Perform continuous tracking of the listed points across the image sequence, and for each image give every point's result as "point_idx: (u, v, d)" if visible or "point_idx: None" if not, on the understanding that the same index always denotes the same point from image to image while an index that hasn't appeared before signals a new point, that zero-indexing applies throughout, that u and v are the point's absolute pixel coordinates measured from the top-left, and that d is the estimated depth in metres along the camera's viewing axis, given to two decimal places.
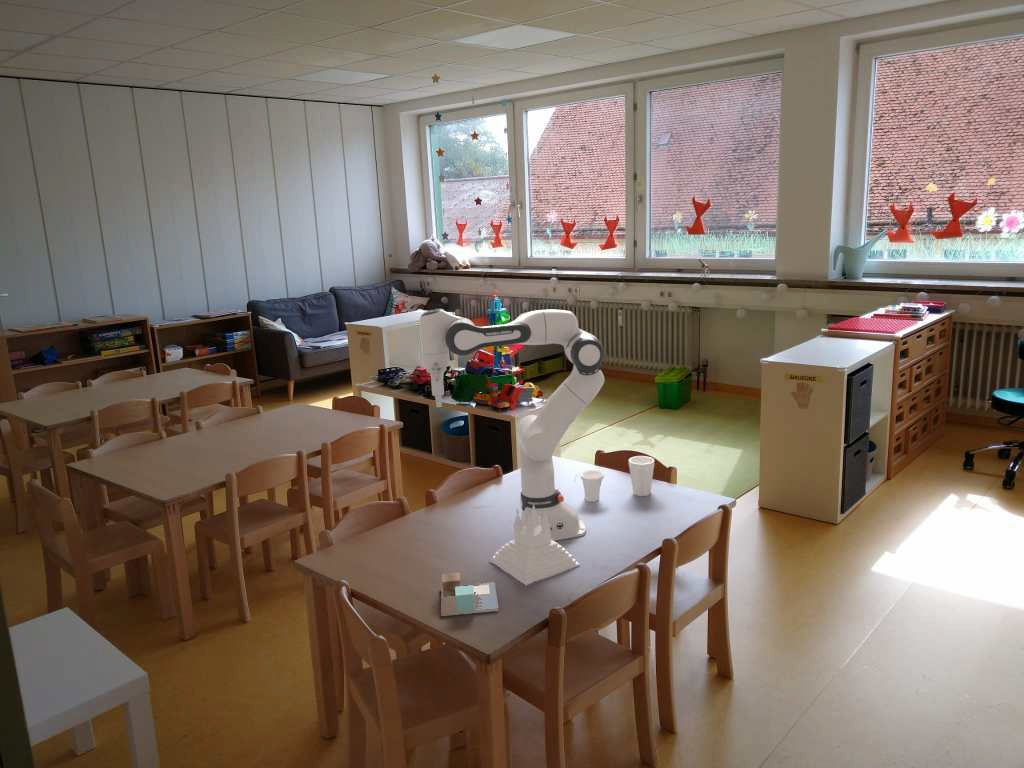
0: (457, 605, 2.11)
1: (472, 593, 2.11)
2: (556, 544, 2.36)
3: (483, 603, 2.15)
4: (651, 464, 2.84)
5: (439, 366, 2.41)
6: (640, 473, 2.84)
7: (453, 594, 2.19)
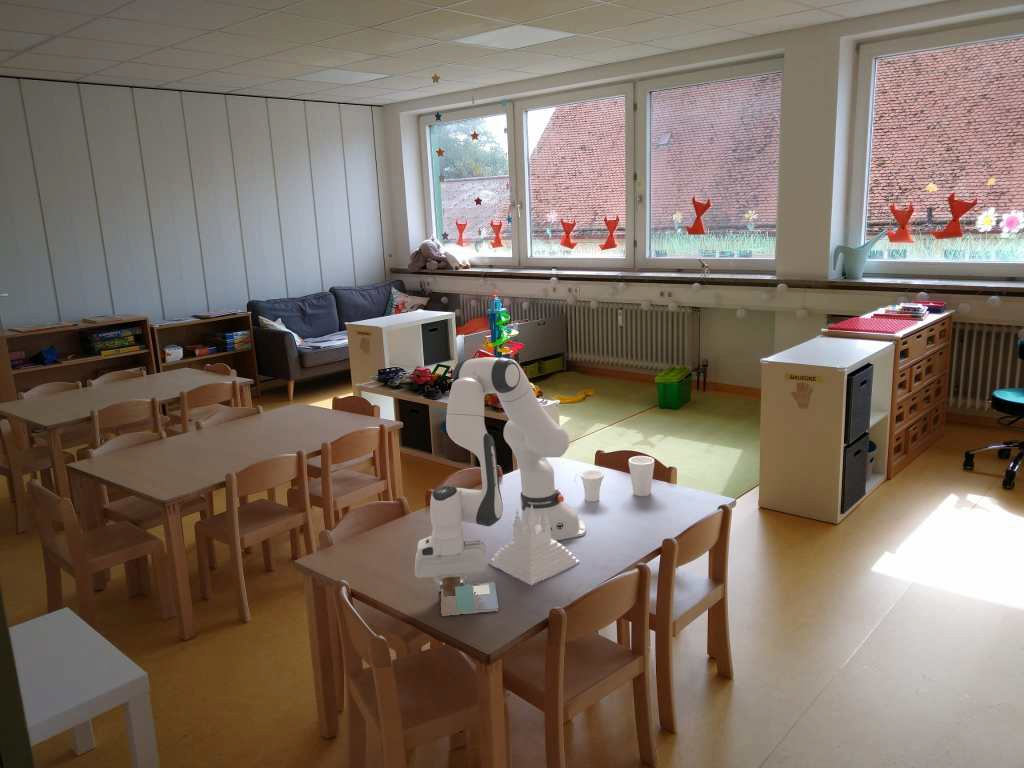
0: (457, 605, 2.11)
1: (472, 593, 2.11)
2: (556, 543, 2.37)
3: (483, 603, 2.15)
4: (651, 464, 2.84)
5: None
6: (640, 473, 2.84)
7: (453, 594, 2.19)
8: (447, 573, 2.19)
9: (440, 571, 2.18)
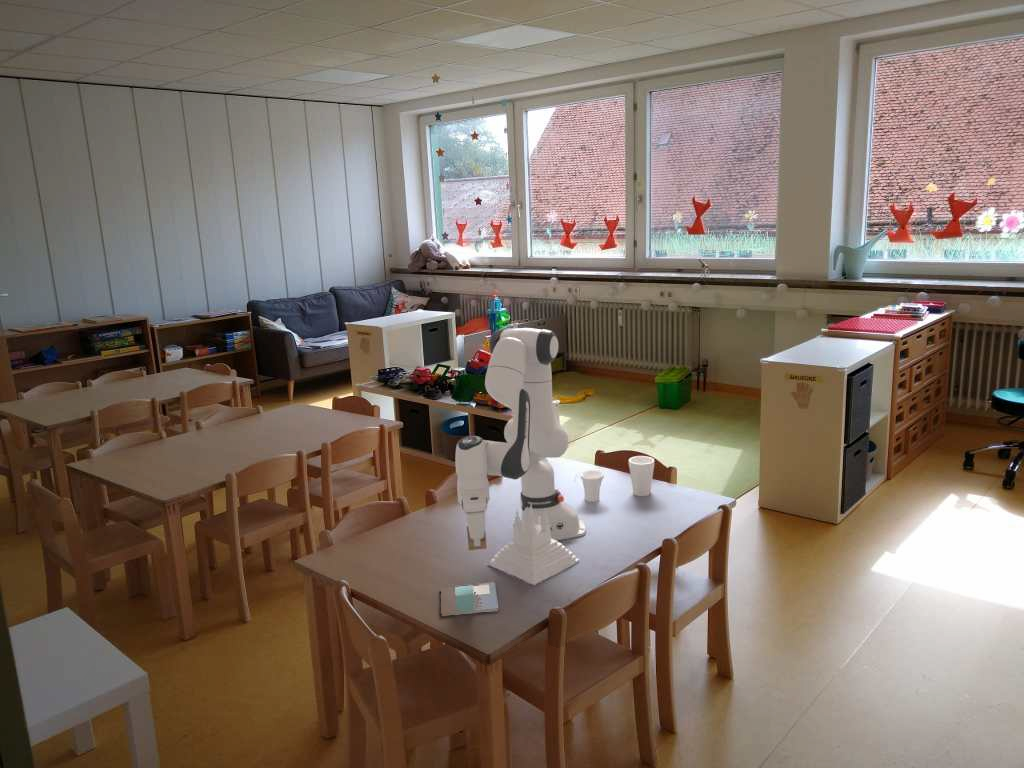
0: (457, 605, 2.11)
1: (472, 593, 2.11)
2: (556, 542, 2.37)
3: (483, 603, 2.15)
4: (651, 464, 2.84)
5: None
6: (640, 473, 2.84)
7: None
8: None
9: None
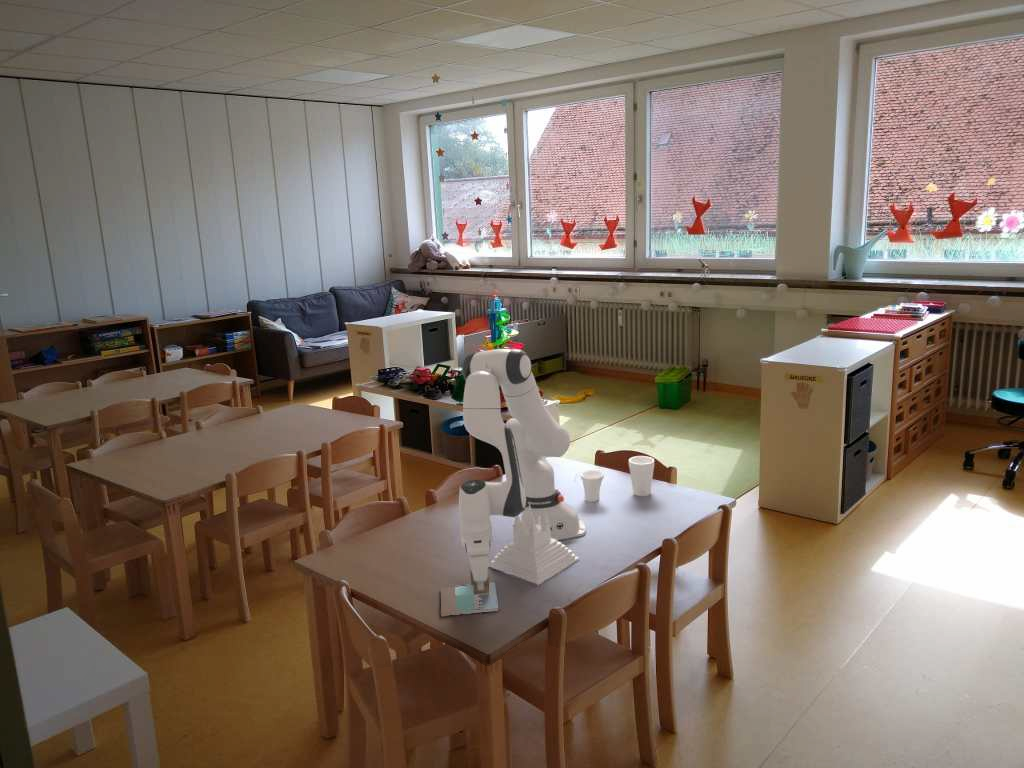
0: (457, 605, 2.11)
1: (472, 593, 2.11)
2: (556, 541, 2.38)
3: (483, 603, 2.15)
4: (651, 464, 2.84)
5: None
6: (640, 473, 2.84)
7: None
8: None
9: None
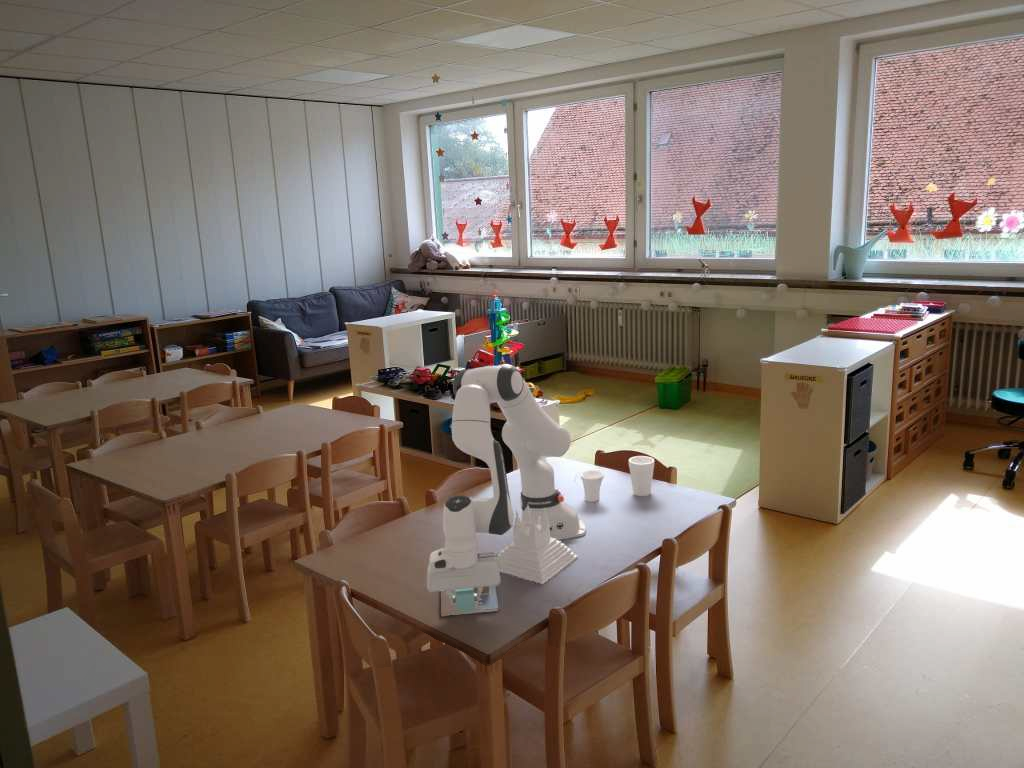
0: (457, 605, 2.11)
1: (472, 593, 2.11)
2: (555, 540, 2.39)
3: (483, 603, 2.15)
4: (651, 464, 2.84)
5: None
6: (640, 473, 2.84)
7: None
8: (460, 587, 2.11)
9: (453, 584, 2.10)
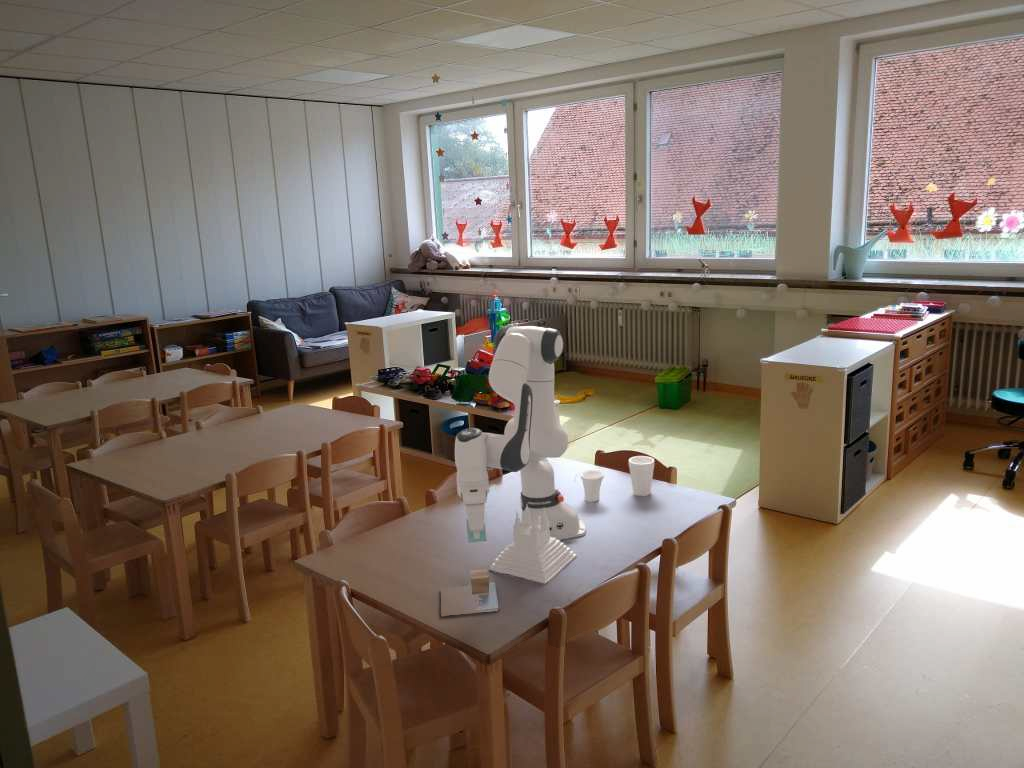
0: (485, 533, 2.17)
1: None
2: (555, 539, 2.39)
3: (483, 603, 2.15)
4: (651, 464, 2.84)
5: None
6: (640, 473, 2.84)
7: None
8: None
9: None
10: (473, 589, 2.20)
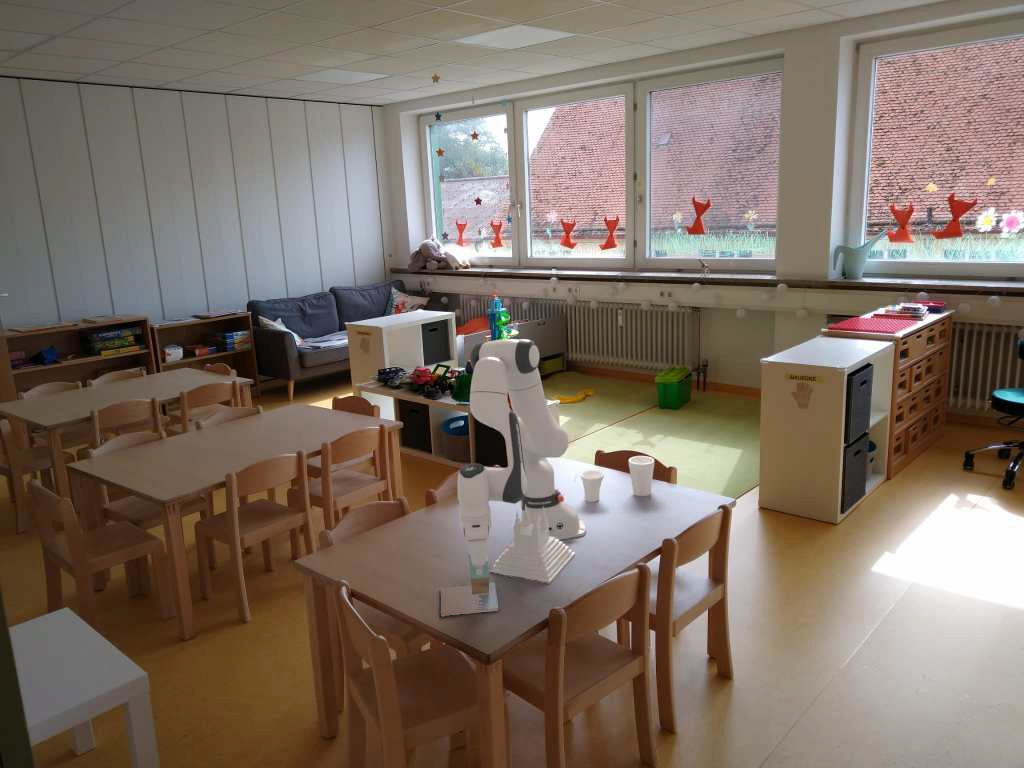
0: None
1: None
2: (554, 538, 2.40)
3: (483, 603, 2.15)
4: (651, 464, 2.84)
5: None
6: (640, 473, 2.84)
7: None
8: None
9: None
10: (473, 589, 2.20)
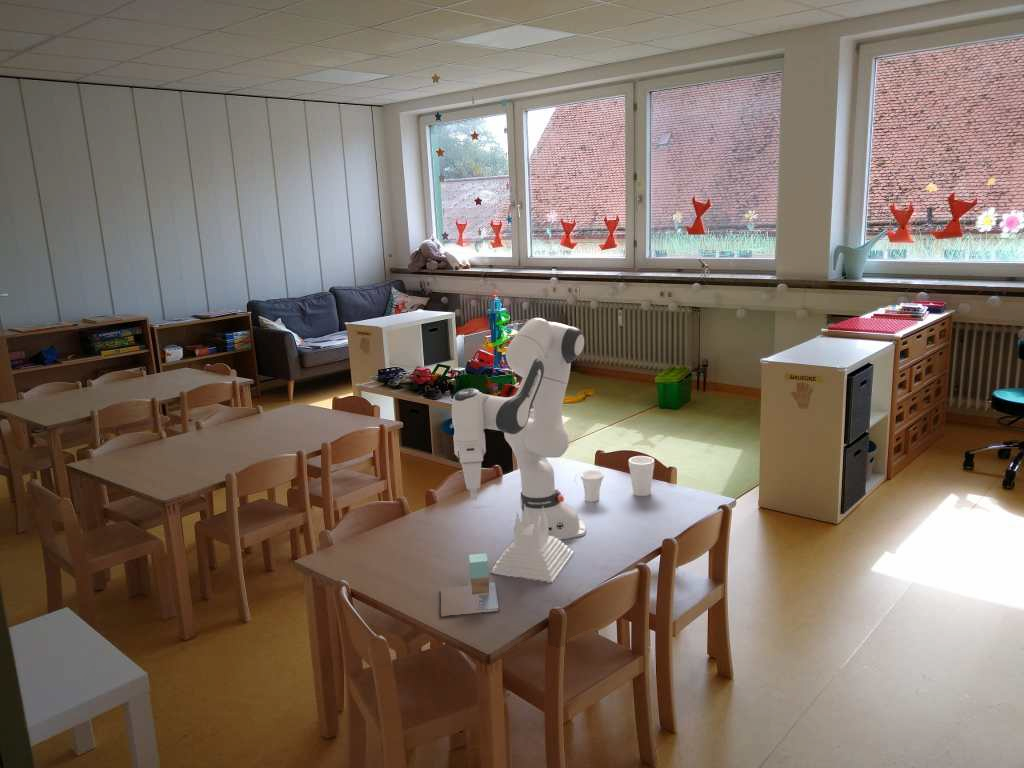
0: None
1: (485, 554, 2.23)
2: (553, 538, 2.40)
3: (483, 603, 2.15)
4: (651, 464, 2.84)
5: None
6: (640, 473, 2.84)
7: None
8: None
9: None
10: (473, 589, 2.20)
